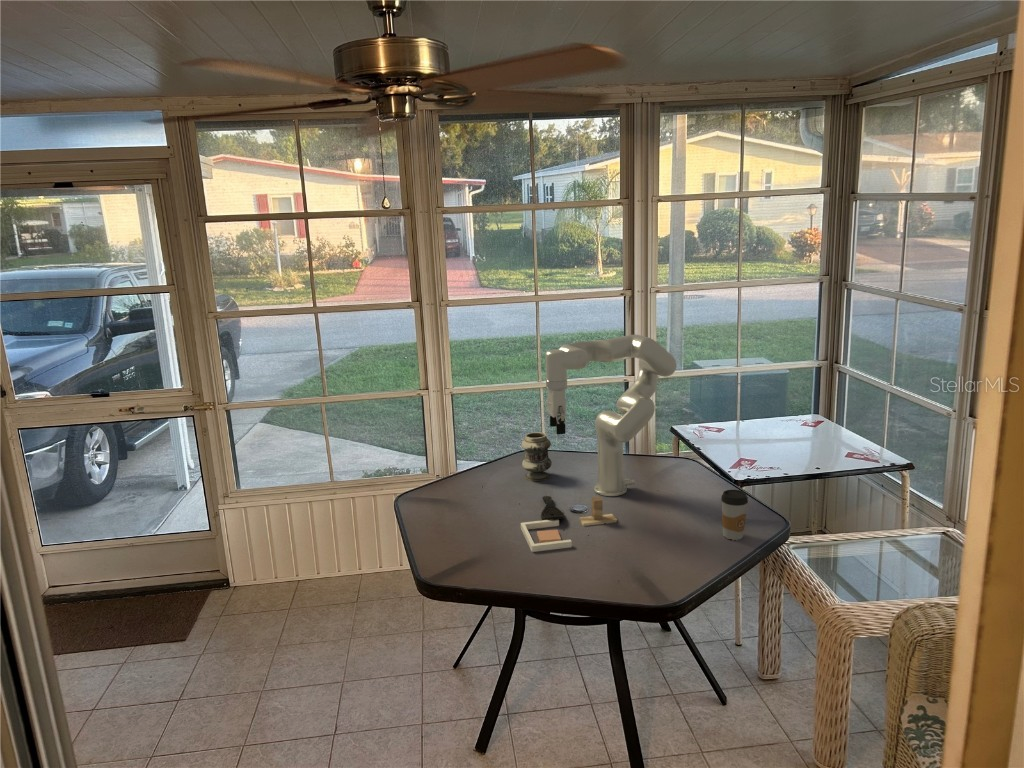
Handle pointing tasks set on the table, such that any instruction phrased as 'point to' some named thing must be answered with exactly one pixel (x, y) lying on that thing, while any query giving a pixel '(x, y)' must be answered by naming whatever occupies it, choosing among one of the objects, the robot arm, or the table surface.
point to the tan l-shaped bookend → (597, 514)
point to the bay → (547, 544)
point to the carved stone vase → (536, 456)
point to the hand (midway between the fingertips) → (557, 430)
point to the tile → (548, 536)
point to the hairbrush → (551, 510)
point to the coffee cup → (734, 513)
